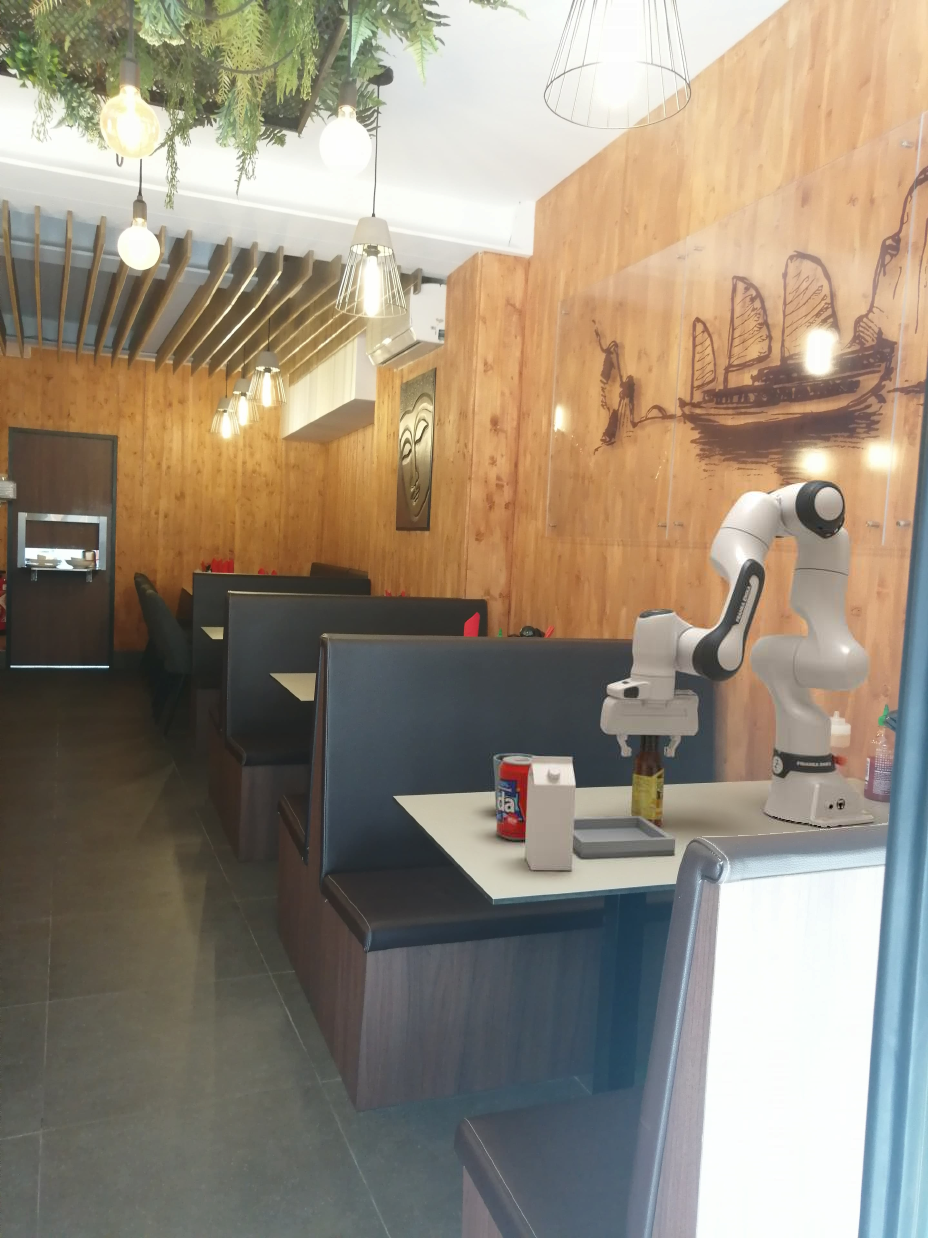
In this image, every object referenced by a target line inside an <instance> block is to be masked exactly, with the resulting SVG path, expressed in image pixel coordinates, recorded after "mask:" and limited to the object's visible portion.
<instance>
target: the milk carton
mask: <svg viewBox="0 0 928 1238" xmlns="http://www.w3.org/2000/svg"><path fill="white" fill-rule="evenodd" d="M573 758H574V757H573V756H537V755H535V756H532V763H531V766H530V770H529V773H528V788H527V812H526V836H525V842H524V857H525V860H526V862H527V864H528V866H529V868H530V870H531V871H572V870H573V855H574V854H573V853H574V851H573V832H574V818H575V806H576V805H575V804H576V788H577V787H576V778H575V772H574V766H573Z"/></svg>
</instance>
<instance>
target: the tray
mask: <svg viewBox="0 0 928 1238" xmlns="http://www.w3.org/2000/svg"><path fill="white" fill-rule="evenodd" d="M675 848H676V838H674V837H673V836H672V835H670V834H669V833H668V832H666V831H664V830H662V829H661V828H660V827H659V826H658V827H657V826H655V825H654V824H652V823H651V822H649V821H648V820H647V819H645V818H644V817H642V816H632V815H628V816H625V815H624V816H623V815H621V816H593V817H592V816H591V817H590V816H589V817H574V832H573V853H575V854H576V855H577V856H578V857H579V858H580V859H581V860H585V859H605V858H606V859H607V858H608V859H610V858H611V859H612V858H613V859H614V858H633V857H634V858H636V857H658V856H659V857H661V856H675V855H676V854H675Z"/></svg>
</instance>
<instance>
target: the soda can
mask: <svg viewBox="0 0 928 1238" xmlns="http://www.w3.org/2000/svg"><path fill="white" fill-rule="evenodd" d="M531 763H532V758H530V757H523V756H510V757H505V758H503V762H502V764H501V765H500V766H499V779H498V804H497V815H496V832H497V834H498V835H499V836H500V837H502V838H504V839H506V840H508V841H513V840H514V842H522V841H523V842H524V841H525V836H526V812H527V788H528V773H529V770H530V766H531Z"/></svg>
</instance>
